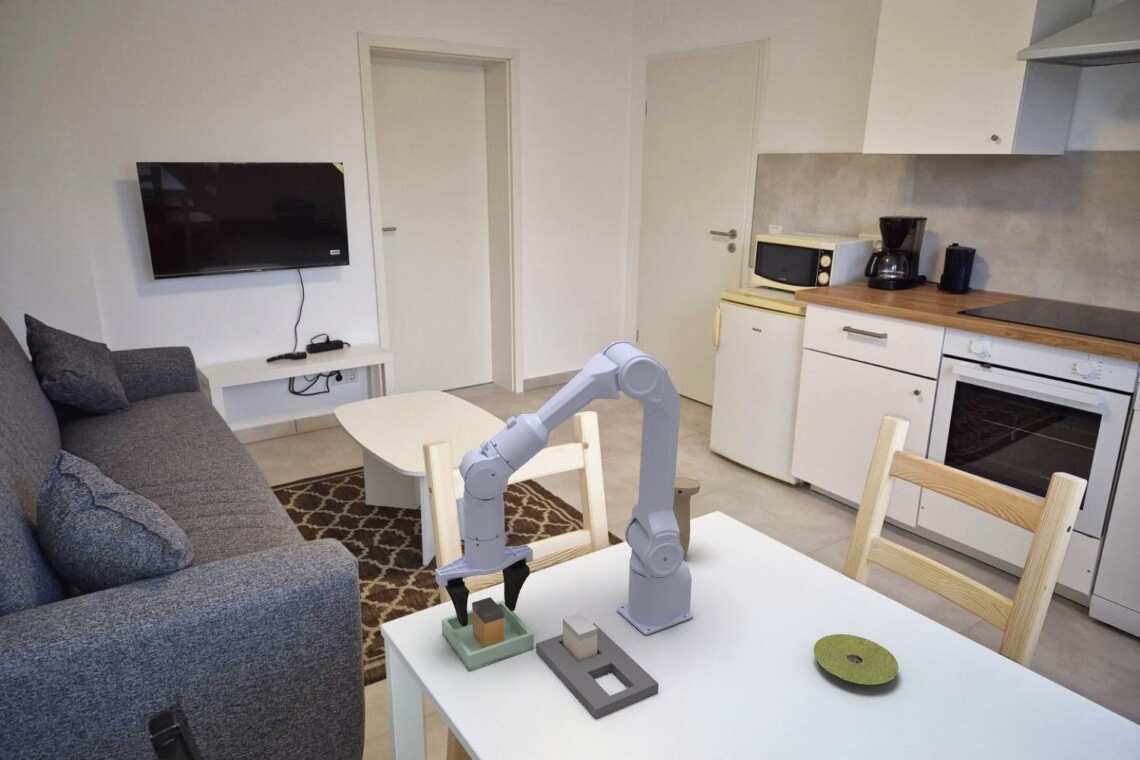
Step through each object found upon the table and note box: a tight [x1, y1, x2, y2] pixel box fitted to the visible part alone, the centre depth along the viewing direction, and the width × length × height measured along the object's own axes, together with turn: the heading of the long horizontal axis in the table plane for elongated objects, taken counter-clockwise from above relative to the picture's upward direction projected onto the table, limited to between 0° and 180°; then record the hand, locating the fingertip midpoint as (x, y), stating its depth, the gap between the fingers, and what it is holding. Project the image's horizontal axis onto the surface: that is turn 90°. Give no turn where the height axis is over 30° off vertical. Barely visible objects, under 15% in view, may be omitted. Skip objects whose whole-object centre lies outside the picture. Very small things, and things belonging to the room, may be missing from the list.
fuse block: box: [535, 622, 659, 720], centre depth 105 cm, size 10×16×2 cm, turn 31°
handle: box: [673, 476, 701, 562], centre depth 133 cm, size 5×6×15 cm
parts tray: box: [441, 600, 535, 672], centre depth 111 cm, size 10×10×2 cm
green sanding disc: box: [813, 633, 900, 686], centre depth 106 cm, size 11×11×2 cm
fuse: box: [562, 612, 598, 662], centre depth 107 cm, size 3×4×6 cm, turn 31°
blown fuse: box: [471, 596, 504, 648], centre depth 110 cm, size 3×4×6 cm, turn 31°
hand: (486, 615), depth 110 cm, fingers open, 7 cm apart
